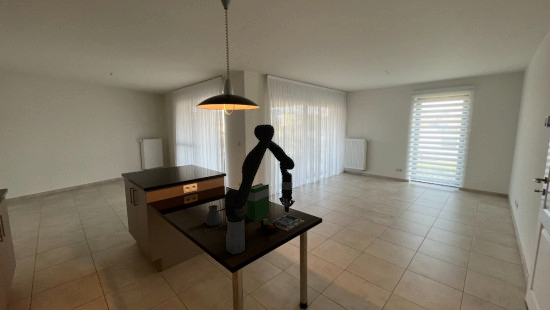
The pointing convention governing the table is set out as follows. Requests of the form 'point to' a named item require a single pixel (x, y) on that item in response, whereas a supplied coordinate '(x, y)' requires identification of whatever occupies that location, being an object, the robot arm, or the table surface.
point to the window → (287, 222)
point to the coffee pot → (213, 216)
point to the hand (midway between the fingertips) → (286, 212)
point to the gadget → (268, 225)
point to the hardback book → (258, 202)
